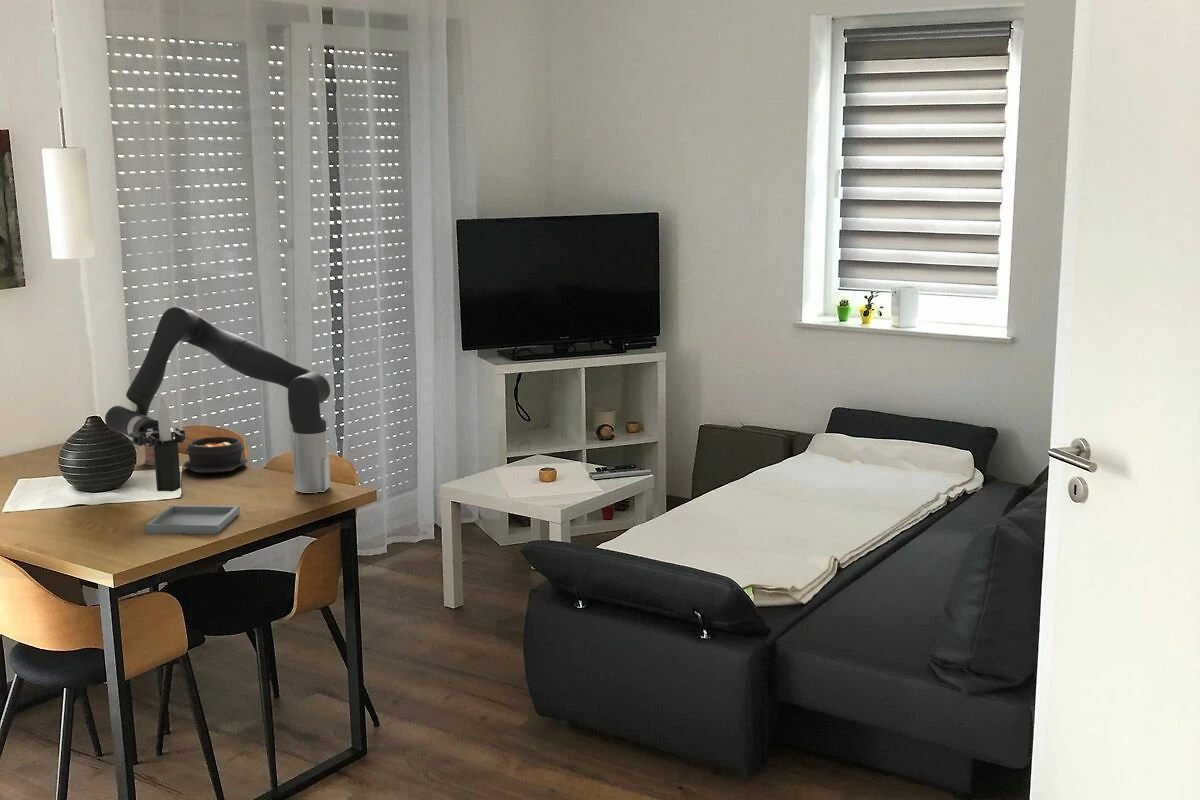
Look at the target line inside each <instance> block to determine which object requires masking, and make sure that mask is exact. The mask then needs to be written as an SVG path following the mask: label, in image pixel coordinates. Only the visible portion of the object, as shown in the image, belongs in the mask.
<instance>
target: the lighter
mask: <svg viewBox="0 0 1200 800" xmlns="http://www.w3.org/2000/svg"><path fill="white" fill-rule="evenodd" d="M144 456H145V457H144V459H145V460H144V464H145V465H149V466H150V465H151V466H155V456H154V446H153V447H149V446H145V445H144Z"/></svg>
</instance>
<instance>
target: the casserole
mask: <svg viewBox="0 0 1200 800" xmlns="http://www.w3.org/2000/svg"><path fill="white" fill-rule="evenodd" d="M244 449H245V446H244V445H243V443H242V442H241V440H240V439H239V438H236V437H231V436H229V437H228V436H212V437H204V438H198V439H195V440H192V441H190V442H189V443H188V445H187V448H186V449H185V452H186V454H188V460H186V461H184V463H183V466H184V467H185V468H187V469H189V470H191V471H192V472H194V473H200V474H215V473H226V472H233V471H234V470H236V469H237V468H239V467H241V466H244V465H245V464H247V463H248V459H247V458H246V457H243V456H242V454H243V453H242V452H243V450H244Z"/></svg>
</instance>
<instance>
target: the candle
mask: <svg viewBox="0 0 1200 800" xmlns="http://www.w3.org/2000/svg"><path fill="white" fill-rule="evenodd" d="M160 399H161V400H160V403H159V405H158V408H157V418H158V419H157V420H158V424H159V438H160V439H157V446H155V447H154V456H155V465H154V466H155V467H154V468H155V481H156V491H157V492H169V493H170V492H171V493H172V492H175V491H178V490H179V489H181V488H182V484H181V483H182V482H181V481H182V480H181V470H180V469H181V468H180V455H179V442H178V441H177V440H175V439H174V438H175V437H174V438H171V429H172V427H171V416H170V415H171V414H170V413H171V412H170V408H169V406H167V403H166V401H165V396H162V395H161V397H160Z"/></svg>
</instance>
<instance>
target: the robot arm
mask: <svg viewBox="0 0 1200 800" xmlns="http://www.w3.org/2000/svg"><path fill="white" fill-rule="evenodd" d="M179 342H183V343H187V344H190V345H193V346H195V347H197V348H200V349H202V350H204V351H207V352H209V353H210V354H211V355H213V356H214V357H215V358H217V359H218V360H219V361H220V362H222V363H223V364H224V365H226V366H227V367H229V368H230V369H232V370H234V371H235V372H238V373H240V374H242V375H244V376H247V377H249V378H252V379H255V380H259V381H263V382H268V383H272V384H276V385H279V386H282V387H284V388H285V389H287V402H288V404H287V405H288V417H289V422H290V424H291V425H292V443H293V444H292V446H293V470H294V471H293V473H294V474H293V475H294V491H295V490H296V491H299V492H317V491H326V490H327V489H328V488H329V487H330V488H331V470H330V469H331V468H330V464H331V463H330V455H329V454H328V440H327V438H328V436H327V433H328V432H327V421H326V420H325V418H322V416H321V409H320V407H321V406H320V404H322V403H324V402H325V401H326V400H328V398H329V396H330V394H331V386H330V384H329V382H328V380H327V378H325V377H324V376H323V375H322V374H320V373H318V372H315V371H313V370H311V369H308V368H306V367H305V368H304V367H303V366H300V365H298V364H295V363H293V362H290V361H289V360H286V359H285V358H283V357H281V356H279V355H278V354H276V353H274V352H271V351H270V350H268V349H266V348H264V347H263V346H260V345H259V344H257V343H255V342H253V341H251V340H249V339H246V338H244V337H242V336H240V335H238V334H235V333H231V332H229V331H226V330H223V329H221V328H220V327H217V326H216V325H214V324H212V323H211V322H210V321H208V320H206V319H205V318H203V317H201V316H200V315H199V314H197V313H196V312H195V311H193V310H191V309H187V308H183V307H181V306H172V307H169V308H168V309H166V310H165V311H164V312H163V314H162V315H161V317H160V320H159V322H158V325H157V327H156V331H155V333H154V335H153V338H152V341H151V343H150V345H149V347H148V348H149V349H148V351H147V352H146V356H145V358H144V360H143V362H142V364H141V366H140V367H139V369H138V372H137V373H136V375H135V377H134V379H133V381H132V382H131V383H130V386H129V388H128V389H127V390H126V395H125V396H126V398H127V399H128V400H129V401H130V402H132V403H133V404H134V405H136V410H135V411H134V410H132V409H130V408H127V407H125V406H122V405H114V406H112V407H110V408H109V409H108V410H107V412H106V414H105V416H104V421H105V425H106V426H107V427H108V428H109V429H110V428H111V430H112V429H113V430H112V431H114V432H118V433H120V434H123V435H126V436H127V437H129V443H130V444H133V445H136V446H139V447H141V446H144V447H145V446H149V447H153V446H154V447H155V446H157V439H160V438H159V424H158V419H155V418H153V417H151V416H148V413H149V409H150V406H151V404H152V401H153V400H154V398H155V396H156V394H157V392H158V391H159V389H160V387H161V385H162V384H163V383H162V382H163V380H164V377H165V375H166V373H165V372H166V370H167V369H166V368H167V364H168V361H169V358H170V356H171V355H172V351H173V350H174V348H175V347H176V346H177V344H178V343H179ZM171 438H174V439H175V440H177V441H178V444H179V443H184V441H185V440H186V439H187V438H186V430H185V429H184V428H183V427H181V426H179V425H178V426H175V428H174V429H173V428H171ZM330 488H329V489H330ZM329 489H328V490H329ZM328 490H327V491H328ZM296 491H295V492H296Z"/></svg>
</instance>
